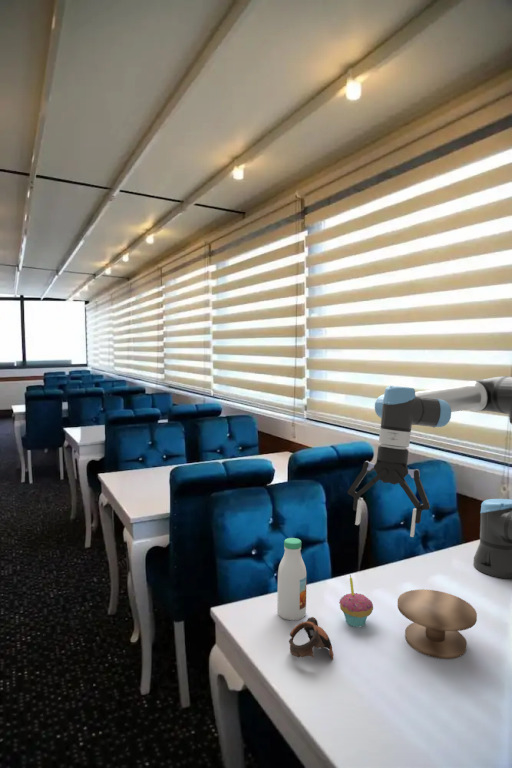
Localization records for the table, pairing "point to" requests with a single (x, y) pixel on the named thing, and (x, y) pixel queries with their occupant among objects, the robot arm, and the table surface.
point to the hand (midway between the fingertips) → (384, 529)
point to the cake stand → (436, 622)
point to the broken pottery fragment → (315, 636)
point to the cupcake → (355, 607)
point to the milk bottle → (292, 582)
